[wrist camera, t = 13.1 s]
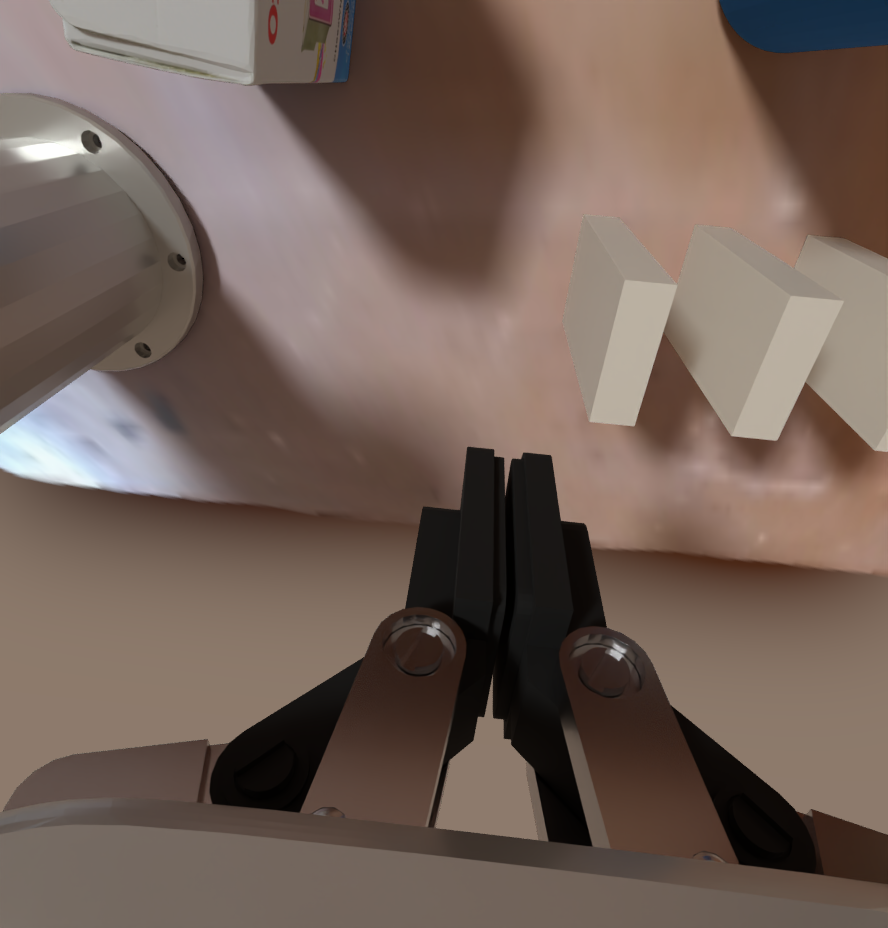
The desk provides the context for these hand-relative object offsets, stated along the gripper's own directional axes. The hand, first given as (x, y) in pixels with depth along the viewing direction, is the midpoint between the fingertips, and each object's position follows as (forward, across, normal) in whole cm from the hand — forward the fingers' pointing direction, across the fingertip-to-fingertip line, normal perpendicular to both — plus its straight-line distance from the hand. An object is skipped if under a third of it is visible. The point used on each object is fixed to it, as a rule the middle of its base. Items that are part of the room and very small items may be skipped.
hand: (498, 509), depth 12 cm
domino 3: (+19, -14, 0) cm, 23 cm away
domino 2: (+19, -9, 0) cm, 21 cm away
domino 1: (+19, -4, 0) cm, 19 cm away
